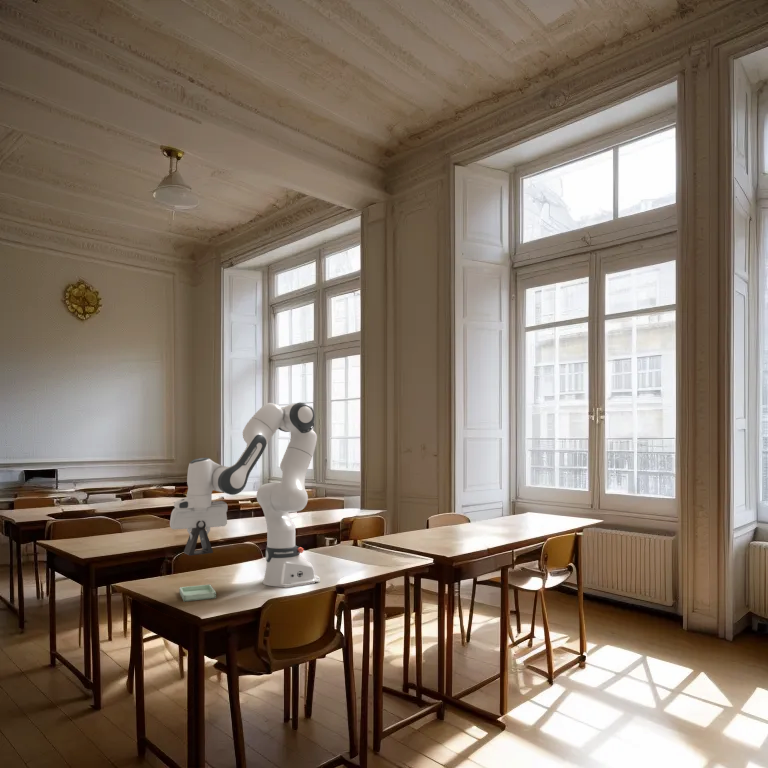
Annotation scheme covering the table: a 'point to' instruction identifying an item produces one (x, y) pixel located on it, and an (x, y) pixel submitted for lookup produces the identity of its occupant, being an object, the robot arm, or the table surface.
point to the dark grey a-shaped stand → (192, 542)
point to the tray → (197, 592)
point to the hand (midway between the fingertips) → (198, 540)
